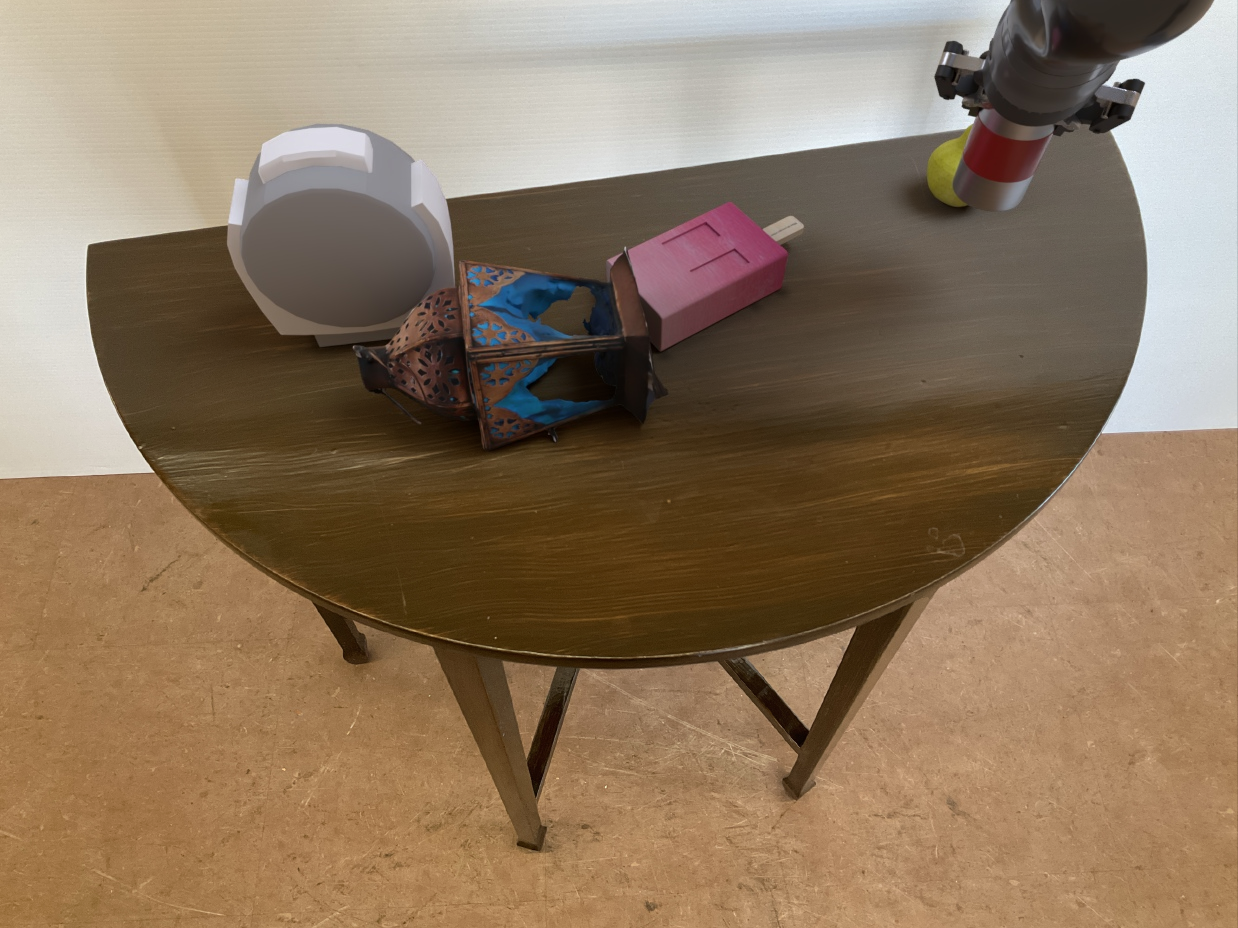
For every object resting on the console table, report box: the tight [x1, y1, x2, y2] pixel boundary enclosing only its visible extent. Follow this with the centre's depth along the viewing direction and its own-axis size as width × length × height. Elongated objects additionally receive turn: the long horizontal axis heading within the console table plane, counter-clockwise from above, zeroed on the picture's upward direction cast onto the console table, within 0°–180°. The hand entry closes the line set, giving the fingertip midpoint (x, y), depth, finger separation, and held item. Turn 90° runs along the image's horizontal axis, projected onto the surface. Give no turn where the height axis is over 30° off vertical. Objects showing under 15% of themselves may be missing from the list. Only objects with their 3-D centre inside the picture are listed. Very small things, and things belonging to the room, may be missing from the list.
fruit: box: [926, 123, 973, 208], centre depth 86 cm, size 7×7×12 cm
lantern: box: [352, 246, 669, 452], centre depth 73 cm, size 16×16×25 cm
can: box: [952, 107, 1057, 213], centre depth 70 cm, size 6×6×10 cm
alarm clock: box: [226, 123, 456, 348], centre depth 75 cm, size 18×8×20 cm, turn 98°
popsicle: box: [605, 201, 805, 352], centre depth 83 cm, size 9×5×20 cm
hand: (1017, 113), depth 70 cm, fingers closed on can, 6 cm apart
